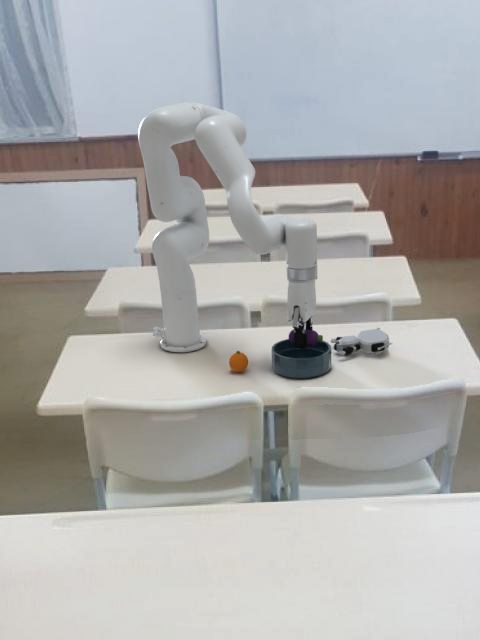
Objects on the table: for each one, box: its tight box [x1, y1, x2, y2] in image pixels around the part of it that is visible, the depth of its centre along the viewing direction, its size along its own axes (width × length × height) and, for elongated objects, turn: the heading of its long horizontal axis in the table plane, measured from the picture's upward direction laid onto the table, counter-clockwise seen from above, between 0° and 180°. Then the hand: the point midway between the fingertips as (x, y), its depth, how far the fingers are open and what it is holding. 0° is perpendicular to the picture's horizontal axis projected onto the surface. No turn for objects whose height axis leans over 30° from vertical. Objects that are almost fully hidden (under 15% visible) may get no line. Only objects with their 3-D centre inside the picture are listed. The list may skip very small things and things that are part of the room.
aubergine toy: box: [288, 328, 324, 346], centre depth 215 cm, size 9×4×4 cm, turn 72°
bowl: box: [271, 338, 332, 380], centre depth 217 cm, size 15×15×6 cm
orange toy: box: [228, 350, 249, 373], centre depth 216 cm, size 5×5×6 cm
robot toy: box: [330, 327, 393, 357], centre depth 226 cm, size 12×4×15 cm
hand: (303, 343), depth 216 cm, fingers closed on aubergine toy, 4 cm apart
